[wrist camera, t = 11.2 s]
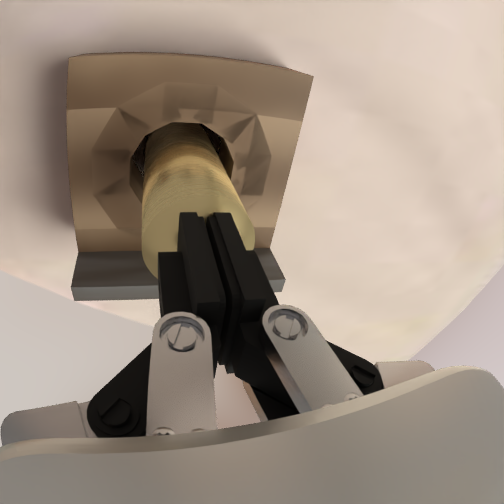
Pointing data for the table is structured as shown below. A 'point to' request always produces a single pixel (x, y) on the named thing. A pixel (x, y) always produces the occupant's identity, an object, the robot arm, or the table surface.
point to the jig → (152, 118)
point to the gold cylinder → (184, 188)
